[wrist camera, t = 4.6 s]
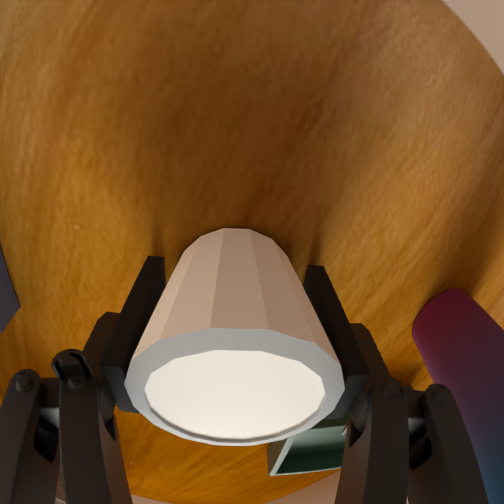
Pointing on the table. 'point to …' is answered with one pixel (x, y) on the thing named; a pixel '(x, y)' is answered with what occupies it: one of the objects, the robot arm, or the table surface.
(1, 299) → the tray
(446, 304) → the cup
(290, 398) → the white faceted candle
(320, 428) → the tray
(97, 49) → the table surface
